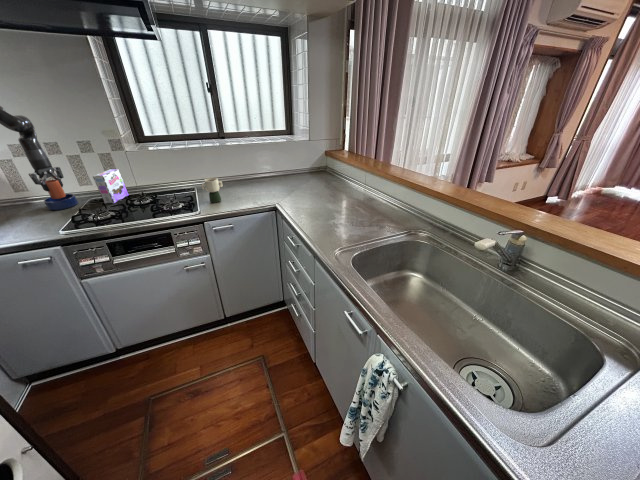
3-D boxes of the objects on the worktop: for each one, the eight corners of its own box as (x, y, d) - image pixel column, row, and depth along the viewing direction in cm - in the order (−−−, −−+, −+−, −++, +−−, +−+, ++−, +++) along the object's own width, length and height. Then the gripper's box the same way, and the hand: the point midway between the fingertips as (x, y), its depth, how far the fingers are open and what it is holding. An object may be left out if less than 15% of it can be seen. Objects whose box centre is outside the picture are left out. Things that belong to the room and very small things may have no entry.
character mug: (224, 197, 159) (220, 176, 152) (226, 201, 153) (222, 179, 147) (205, 201, 155) (199, 179, 148) (206, 205, 149) (201, 182, 143)
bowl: (43, 212, 144) (38, 203, 141) (56, 203, 155) (51, 195, 152) (72, 209, 147) (67, 200, 145) (82, 200, 158) (78, 192, 156)
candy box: (114, 203, 153) (102, 175, 145) (104, 203, 153) (91, 175, 145) (129, 195, 165) (119, 168, 157) (120, 195, 165) (109, 168, 157)
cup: (49, 199, 145) (40, 183, 140) (55, 195, 150) (46, 180, 146) (62, 198, 147) (54, 182, 142) (68, 194, 152) (60, 179, 147)
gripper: (47, 154, 144) (62, 184, 153) (15, 161, 132) (34, 193, 141) (58, 155, 143) (73, 185, 151) (27, 161, 131) (45, 194, 139)
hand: (54, 188), depth 146 cm, fingers closed on cup, 6 cm apart
